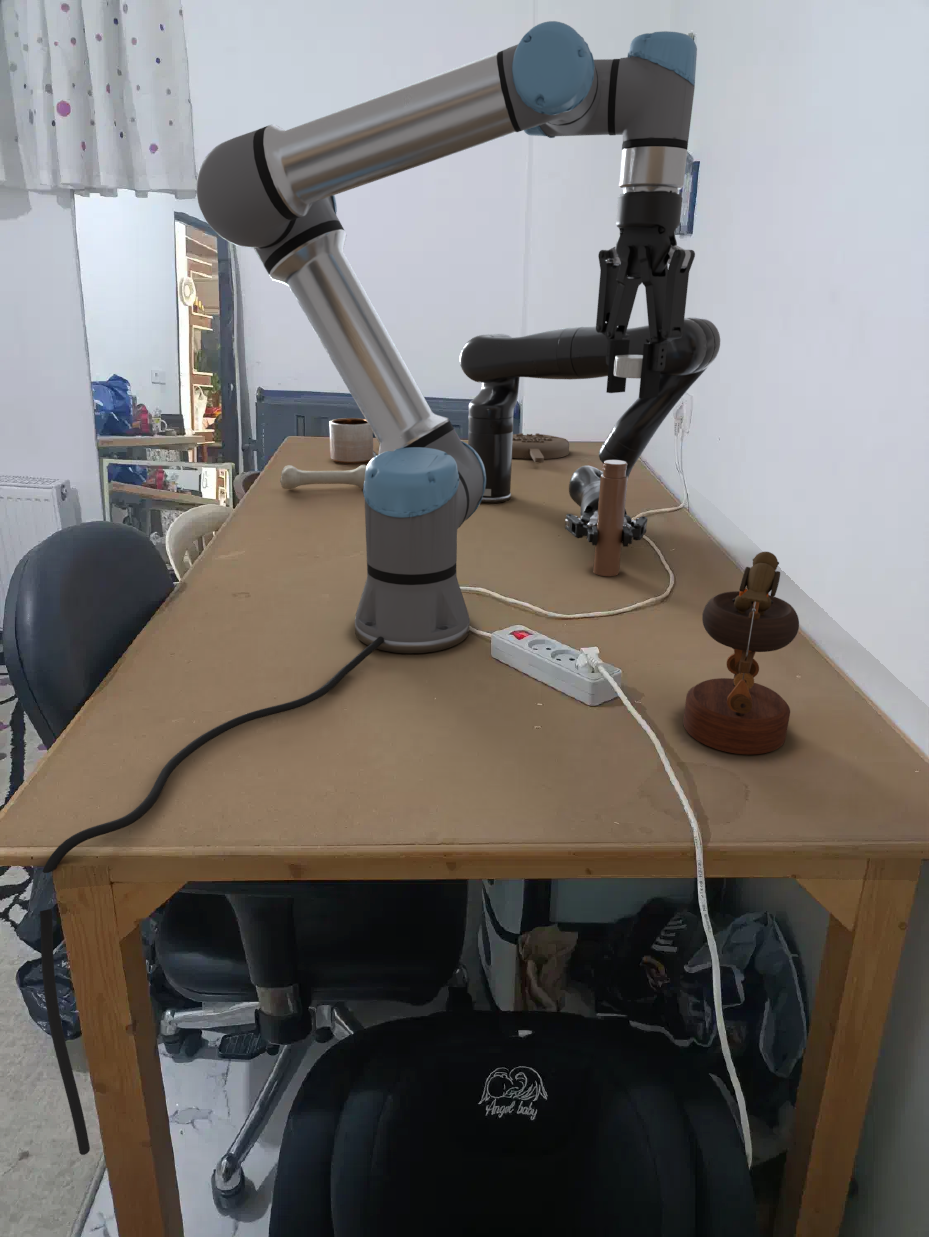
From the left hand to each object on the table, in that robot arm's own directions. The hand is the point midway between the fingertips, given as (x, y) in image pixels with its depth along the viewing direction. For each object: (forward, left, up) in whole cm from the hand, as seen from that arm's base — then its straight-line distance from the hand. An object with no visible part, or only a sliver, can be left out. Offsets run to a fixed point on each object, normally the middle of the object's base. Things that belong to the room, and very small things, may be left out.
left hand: (631, 394), depth 108 cm
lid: (0, 0, +4) cm, 4 cm away
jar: (+18, 0, -30) cm, 36 cm away
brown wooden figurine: (-31, -11, -30) cm, 45 cm away
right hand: (+16, 0, -24) cm, 29 cm away
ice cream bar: (+108, +14, -30) cm, 113 cm away
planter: (+97, +60, -30) cm, 118 cm away
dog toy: (+66, +58, -30) cm, 93 cm away
